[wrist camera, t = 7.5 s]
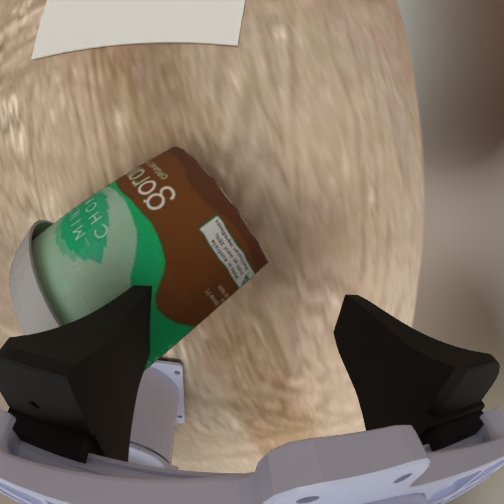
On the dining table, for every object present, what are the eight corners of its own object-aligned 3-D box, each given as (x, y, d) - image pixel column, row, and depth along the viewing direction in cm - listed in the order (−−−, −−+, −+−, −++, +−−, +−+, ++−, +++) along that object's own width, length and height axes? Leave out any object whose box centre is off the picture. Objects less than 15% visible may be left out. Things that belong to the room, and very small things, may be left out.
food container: (224, 133, 8) (-26, 337, 6) (289, 279, 12) (97, 421, 9) (142, 124, 17) (24, 215, 15) (184, 196, 21) (76, 278, 19)
